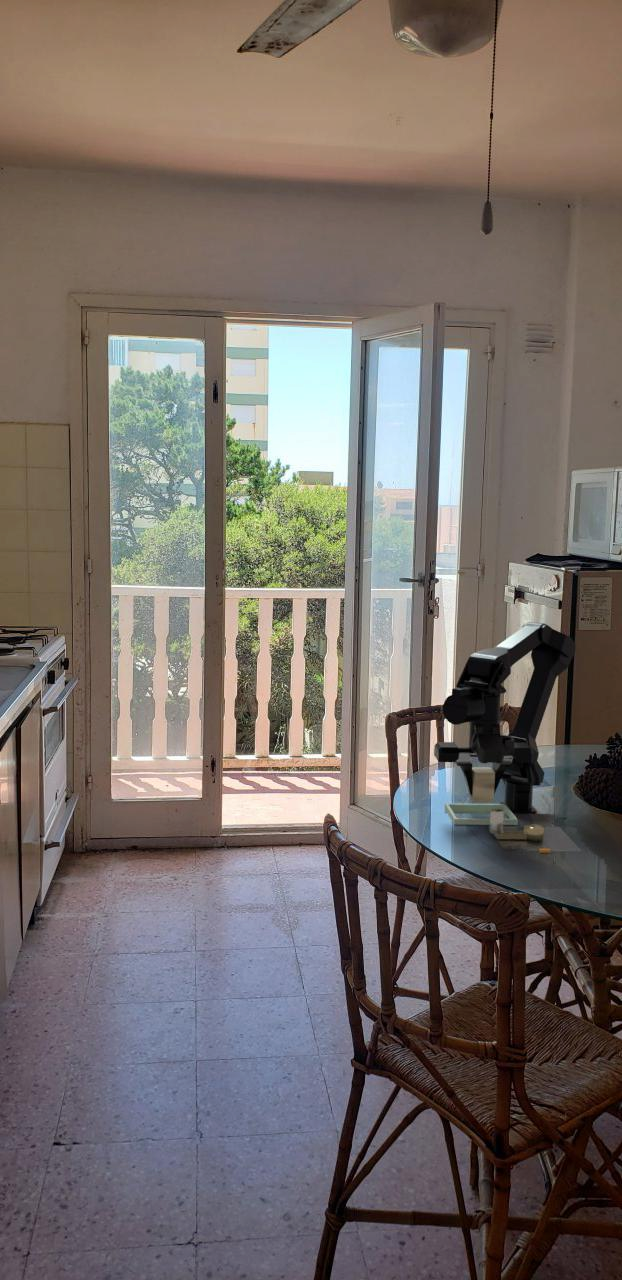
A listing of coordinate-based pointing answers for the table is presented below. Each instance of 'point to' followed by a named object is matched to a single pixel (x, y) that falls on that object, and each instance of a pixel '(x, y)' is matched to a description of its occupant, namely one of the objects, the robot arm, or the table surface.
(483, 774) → the block
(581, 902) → the table surface
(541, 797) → the table surface
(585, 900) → the table surface
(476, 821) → the tray
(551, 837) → the crank base
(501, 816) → the crank
